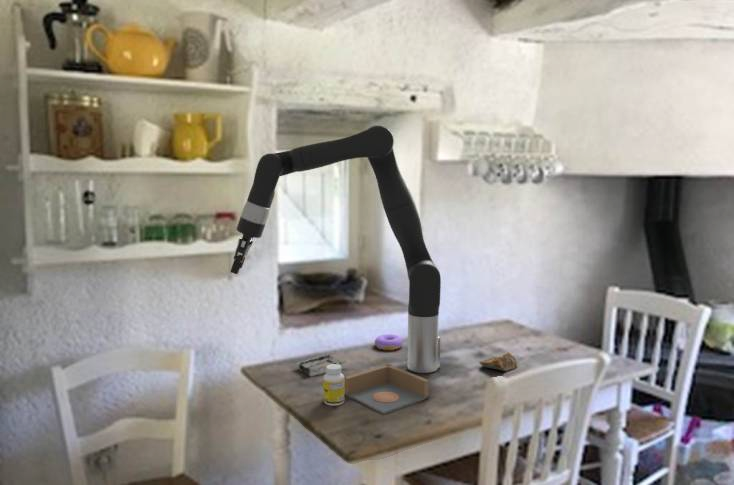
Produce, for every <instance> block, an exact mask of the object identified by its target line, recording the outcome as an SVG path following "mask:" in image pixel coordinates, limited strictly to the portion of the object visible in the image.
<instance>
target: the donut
mask: <svg viewBox="0 0 734 485" xmlns="http://www.w3.org/2000/svg"><path fill="white" fill-rule="evenodd" d="M403 343H404V339H403V337H402V336H400V335H396V334H392V333H391V334H388V333H387V334H381V335H378V336H377V337H376V338H375V339H374V345H375V346H376V348H377V349H378V350H381V349H383V350H382V351H388V350H389V351H396V350H395V349H397V350H399V349H401V348H402V347H403ZM398 348H399V349H398Z"/></svg>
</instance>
